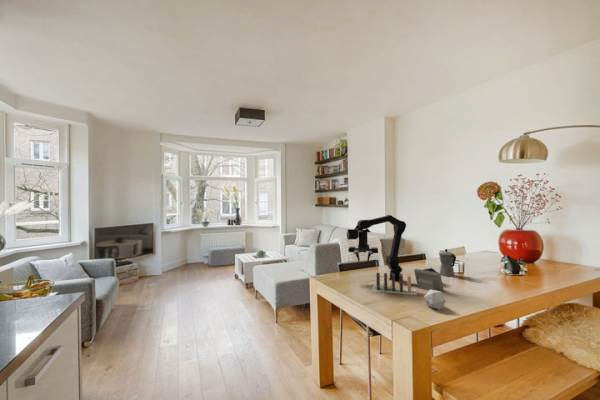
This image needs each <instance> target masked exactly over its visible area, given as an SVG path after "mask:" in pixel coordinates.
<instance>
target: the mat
mask: <svg viewBox="0 0 600 400" xmlns="http://www.w3.org/2000/svg"><path fill="white" fill-rule="evenodd" d="M371 292H377V293H378V292H379V293H390V294H403V295H411V296H413V295H416V296H417V292H416V289H415V288H411V293H408V287H406V288H404V287H403V292H400V287H395V291H392V286H387V291H384V286H382V285H380V290H377V285H373V286H372V290H371Z"/></svg>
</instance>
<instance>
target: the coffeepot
mask: <svg viewBox="0 0 600 400" xmlns="http://www.w3.org/2000/svg"><path fill="white" fill-rule="evenodd" d="M448 250H449V249H448V248H445V249H444V251H440V252H438V256H439V261H440V268H439V272H438V273H439V274H440V275H441V277H447V278H448V277H455V272H454V266H455V263H456V260H457V257H456V255H455V254H454V253H453V252H450V251H448Z"/></svg>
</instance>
